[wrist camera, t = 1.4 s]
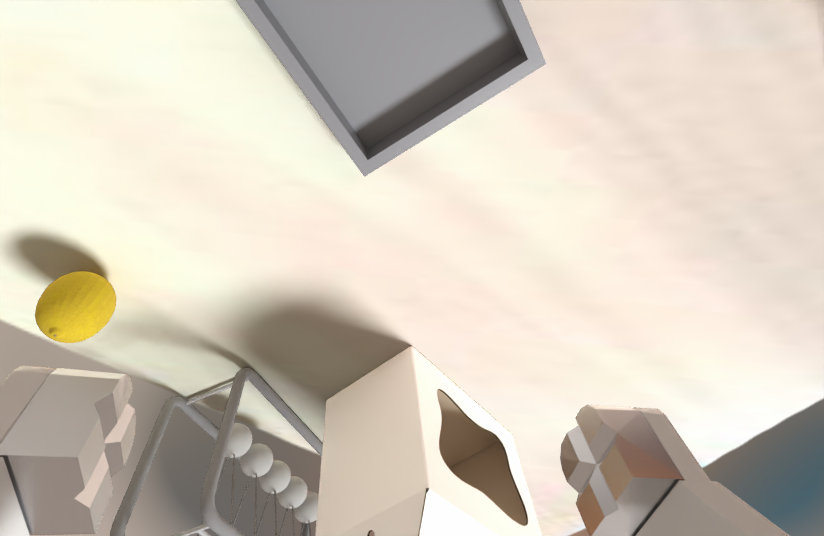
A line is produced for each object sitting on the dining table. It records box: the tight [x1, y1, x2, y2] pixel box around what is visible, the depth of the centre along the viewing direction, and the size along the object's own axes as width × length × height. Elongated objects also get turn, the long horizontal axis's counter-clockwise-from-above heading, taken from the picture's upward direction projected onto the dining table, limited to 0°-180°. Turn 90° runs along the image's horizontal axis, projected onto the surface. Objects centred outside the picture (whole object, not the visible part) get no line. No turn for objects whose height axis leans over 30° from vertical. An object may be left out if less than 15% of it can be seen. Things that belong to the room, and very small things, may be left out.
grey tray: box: [236, 0, 546, 177], centre depth 35 cm, size 16×16×4 cm
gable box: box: [316, 346, 542, 536], centre depth 51 cm, size 22×13×28 cm, turn 38°
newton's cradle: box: [110, 368, 323, 536], centre depth 56 cm, size 30×10×18 cm, turn 24°
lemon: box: [35, 271, 116, 343], centre depth 44 cm, size 6×6×8 cm
